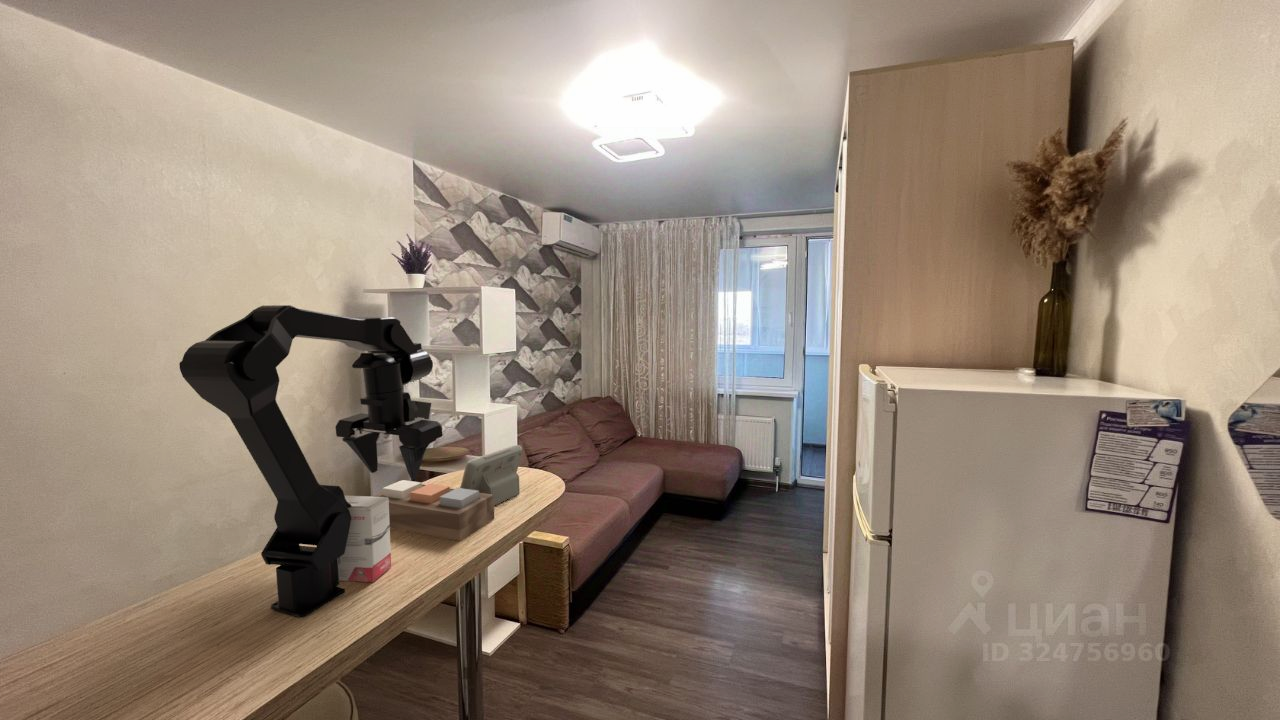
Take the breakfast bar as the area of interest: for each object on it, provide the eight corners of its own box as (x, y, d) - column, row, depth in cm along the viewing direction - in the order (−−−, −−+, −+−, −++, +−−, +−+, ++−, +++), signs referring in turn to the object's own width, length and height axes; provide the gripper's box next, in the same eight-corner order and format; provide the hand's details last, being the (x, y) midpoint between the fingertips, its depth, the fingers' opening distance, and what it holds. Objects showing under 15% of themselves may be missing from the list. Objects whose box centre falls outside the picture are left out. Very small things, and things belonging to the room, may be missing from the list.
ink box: (394, 566, 78) (390, 495, 77) (373, 583, 73) (369, 507, 72) (344, 563, 79) (339, 493, 78) (321, 580, 74) (315, 505, 73)
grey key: (462, 515, 89) (461, 500, 89) (440, 512, 91) (439, 496, 90) (479, 505, 94) (478, 490, 94) (458, 502, 95) (457, 487, 95)
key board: (460, 541, 87) (459, 514, 86) (367, 523, 94) (366, 499, 93) (494, 518, 96) (493, 494, 96) (407, 504, 103) (406, 482, 103)
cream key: (403, 506, 94) (402, 491, 93) (383, 502, 95) (382, 488, 95) (422, 496, 98) (421, 482, 98) (403, 493, 100) (402, 479, 100)
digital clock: (511, 484, 116) (510, 440, 115) (535, 492, 110) (534, 447, 109) (448, 504, 104) (446, 456, 103) (471, 515, 98) (469, 464, 97)
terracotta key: (431, 510, 91) (431, 495, 91) (411, 507, 93) (410, 492, 93) (450, 501, 96) (449, 486, 96) (430, 498, 98) (429, 483, 97)
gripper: (460, 383, 87) (467, 464, 90) (381, 377, 93) (390, 453, 96) (413, 397, 77) (422, 489, 80) (328, 390, 83) (339, 475, 86)
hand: (393, 475), depth 86 cm, fingers open, 9 cm apart
